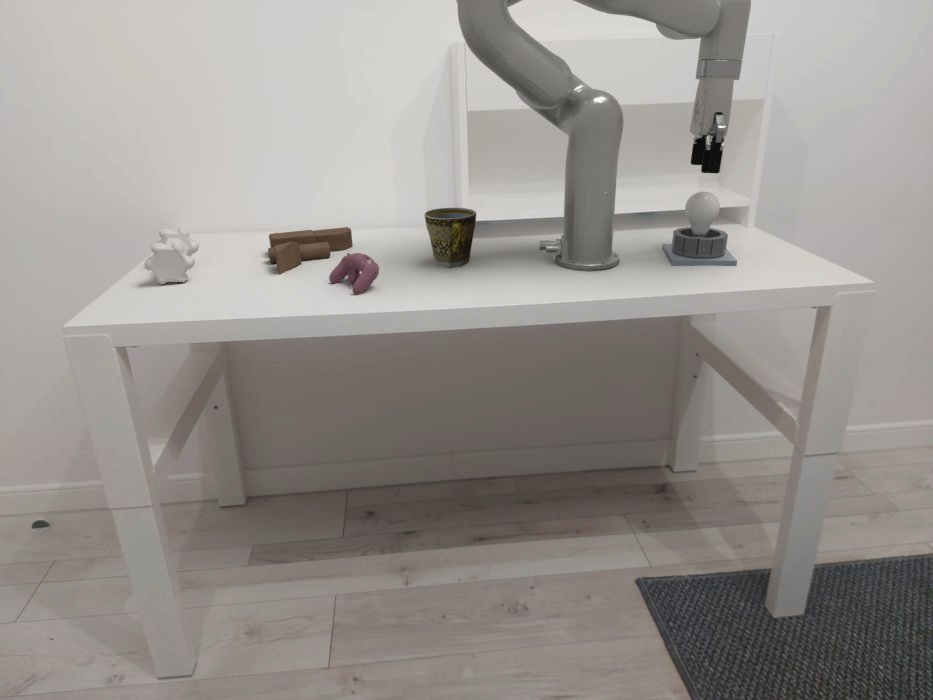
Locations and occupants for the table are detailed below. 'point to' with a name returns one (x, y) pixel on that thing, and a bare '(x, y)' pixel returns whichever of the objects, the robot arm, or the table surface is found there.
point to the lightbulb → (701, 212)
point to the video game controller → (356, 271)
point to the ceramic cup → (451, 235)
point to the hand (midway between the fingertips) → (704, 168)
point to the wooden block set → (306, 246)
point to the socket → (699, 248)
